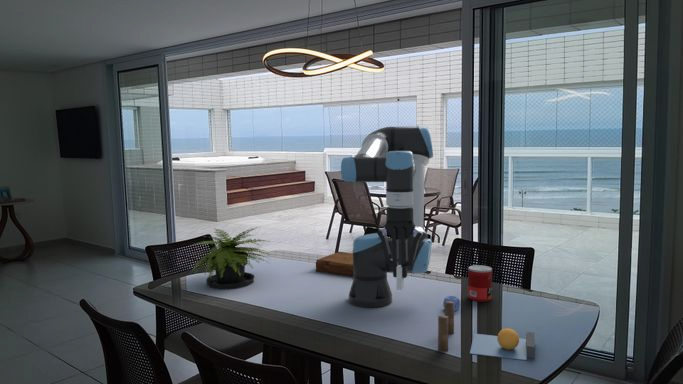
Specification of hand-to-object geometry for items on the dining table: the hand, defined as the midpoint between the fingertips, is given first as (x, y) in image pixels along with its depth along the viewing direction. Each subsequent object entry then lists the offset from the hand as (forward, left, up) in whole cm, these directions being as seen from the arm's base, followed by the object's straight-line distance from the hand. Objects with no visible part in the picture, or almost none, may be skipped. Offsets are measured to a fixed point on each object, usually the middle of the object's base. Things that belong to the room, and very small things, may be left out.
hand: (400, 288), depth 146 cm
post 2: (+13, +6, -14) cm, 20 cm away
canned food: (+19, +41, -14) cm, 47 cm away
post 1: (+13, -6, -14) cm, 20 cm away
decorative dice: (+11, +27, -14) cm, 32 cm away
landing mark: (+27, 0, -14) cm, 30 cm away
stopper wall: (+35, 0, -14) cm, 38 cm away
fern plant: (-77, +35, -14) cm, 86 cm away
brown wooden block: (-37, +66, -15) cm, 77 cm away
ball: (+29, -1, -11) cm, 31 cm away
